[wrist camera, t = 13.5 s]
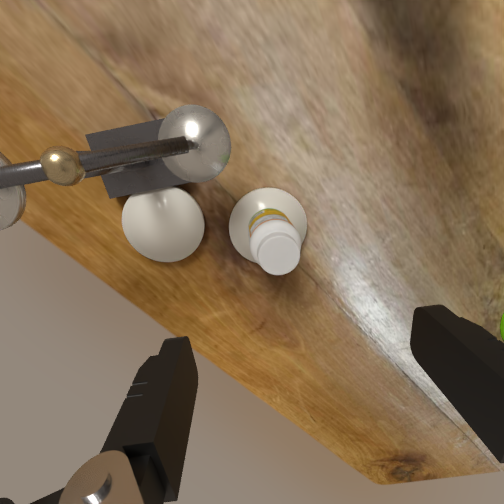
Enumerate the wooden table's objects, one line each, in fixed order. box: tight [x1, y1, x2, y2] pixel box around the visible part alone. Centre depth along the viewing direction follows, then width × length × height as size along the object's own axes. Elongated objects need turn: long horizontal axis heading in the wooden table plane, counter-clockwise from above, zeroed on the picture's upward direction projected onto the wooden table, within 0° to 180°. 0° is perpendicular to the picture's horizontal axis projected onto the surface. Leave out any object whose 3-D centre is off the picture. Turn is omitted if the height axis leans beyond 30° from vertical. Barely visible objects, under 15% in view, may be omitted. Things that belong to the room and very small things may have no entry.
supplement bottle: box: [248, 208, 301, 275], centre depth 29 cm, size 5×5×10 cm
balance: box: [0, 105, 231, 230], centre depth 22 cm, size 21×7×19 cm, turn 101°
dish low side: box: [229, 187, 307, 263], centre depth 34 cm, size 10×10×1 cm
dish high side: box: [122, 186, 205, 262], centre depth 33 cm, size 10×10×1 cm
